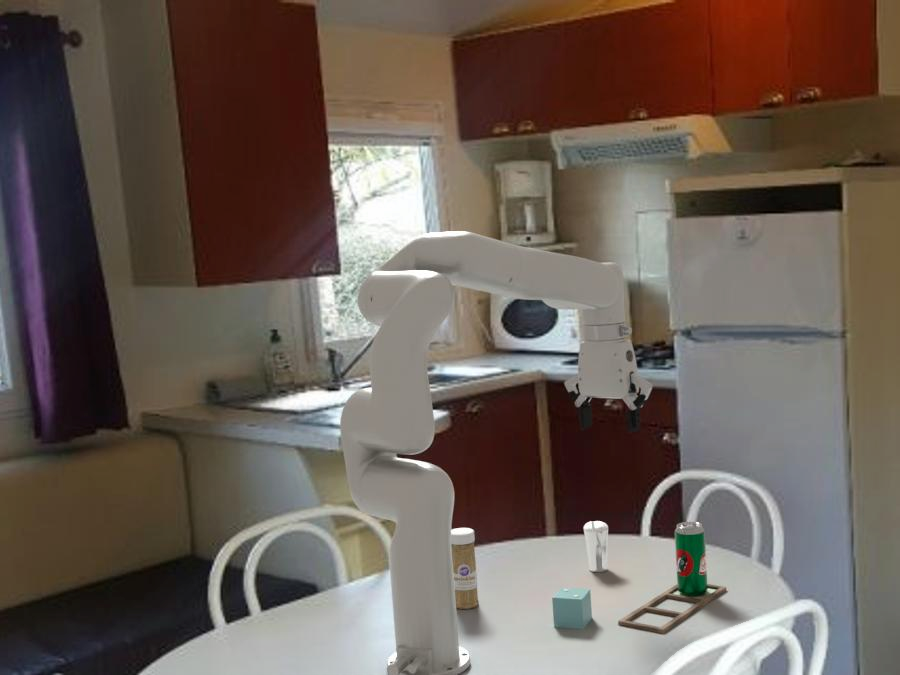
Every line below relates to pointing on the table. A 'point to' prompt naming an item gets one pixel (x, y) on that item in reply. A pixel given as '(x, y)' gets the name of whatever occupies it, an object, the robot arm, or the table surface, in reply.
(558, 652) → the table surface
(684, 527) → the soda can
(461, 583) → the sprinkles bottle
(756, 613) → the table surface
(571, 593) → the die
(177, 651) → the table surface
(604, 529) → the milkshake
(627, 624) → the wooden frame
